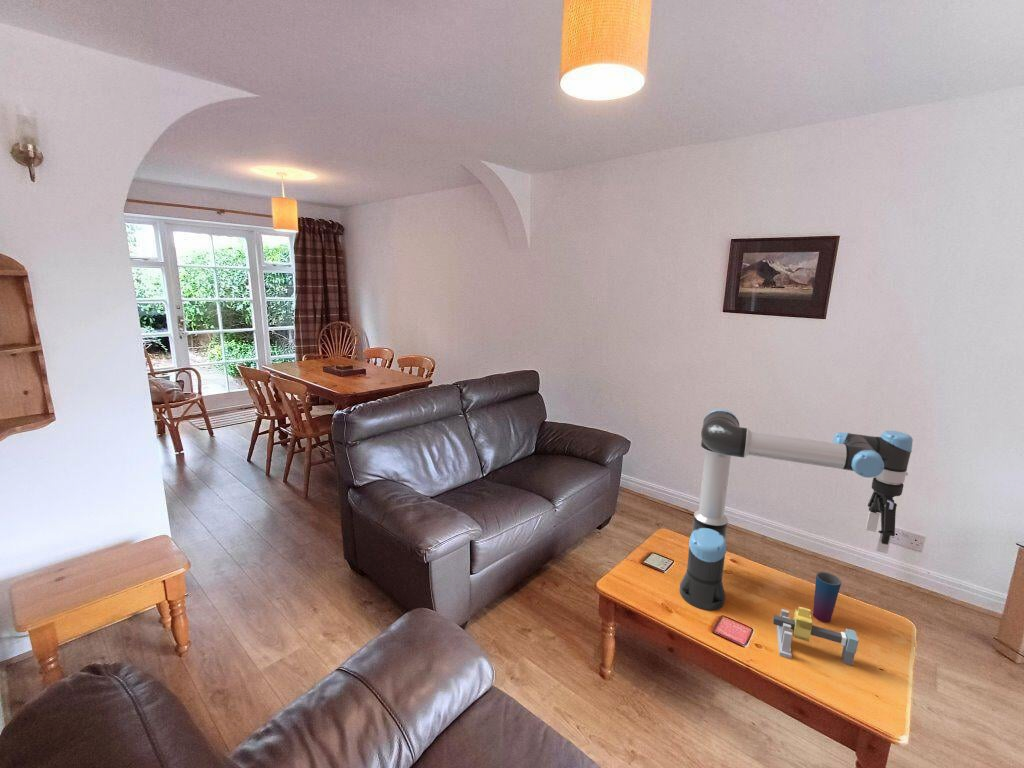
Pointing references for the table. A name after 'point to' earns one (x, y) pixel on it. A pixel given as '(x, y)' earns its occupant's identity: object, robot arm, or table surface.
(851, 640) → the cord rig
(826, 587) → the cup
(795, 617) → the sleeve
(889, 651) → the table surface
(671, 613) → the table surface
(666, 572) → the table surface
